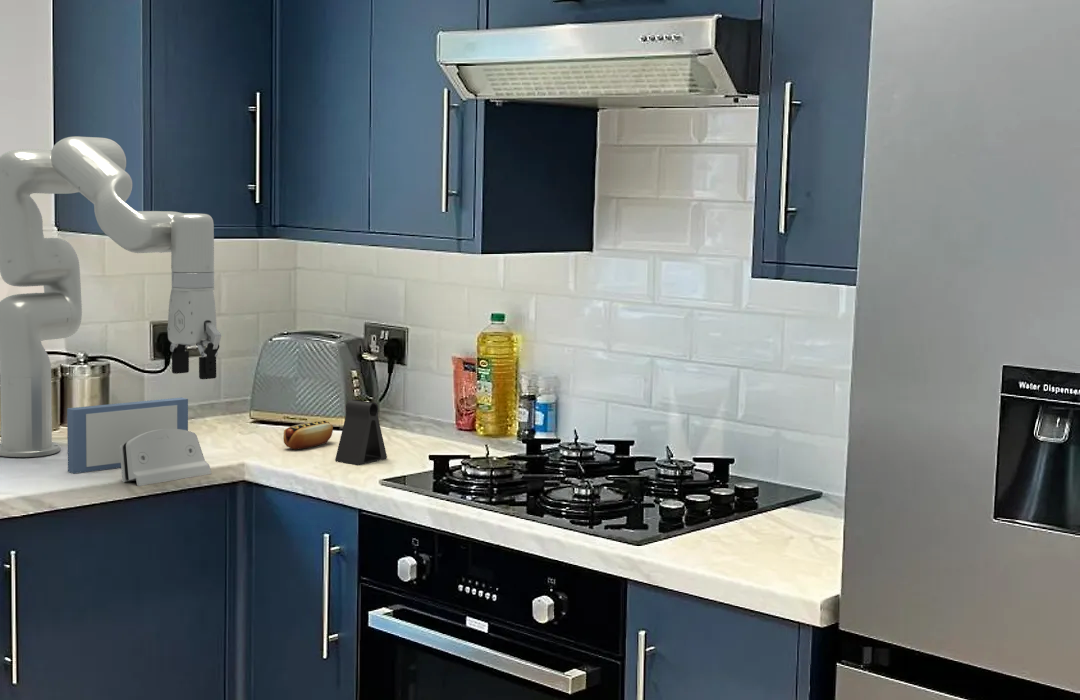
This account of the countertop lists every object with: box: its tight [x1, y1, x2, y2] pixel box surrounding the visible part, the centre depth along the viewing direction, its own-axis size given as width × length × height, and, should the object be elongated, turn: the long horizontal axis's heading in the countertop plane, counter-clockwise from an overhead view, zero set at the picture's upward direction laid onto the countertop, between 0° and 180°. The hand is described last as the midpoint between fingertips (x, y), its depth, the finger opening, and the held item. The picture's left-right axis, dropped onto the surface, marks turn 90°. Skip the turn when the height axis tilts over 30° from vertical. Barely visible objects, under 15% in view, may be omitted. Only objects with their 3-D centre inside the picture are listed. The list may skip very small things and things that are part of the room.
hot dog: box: [283, 420, 334, 450], centre depth 300 cm, size 5×13×5 cm, turn 150°
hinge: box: [120, 429, 212, 487], centre depth 267 cm, size 17×5×10 cm, turn 140°
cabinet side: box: [66, 397, 189, 474], centre depth 276 cm, size 3×24×12 cm, turn 134°
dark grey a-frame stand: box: [334, 398, 388, 466], centre depth 287 cm, size 9×6×12 cm, turn 146°
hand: (193, 375), depth 261 cm, fingers open, 9 cm apart
